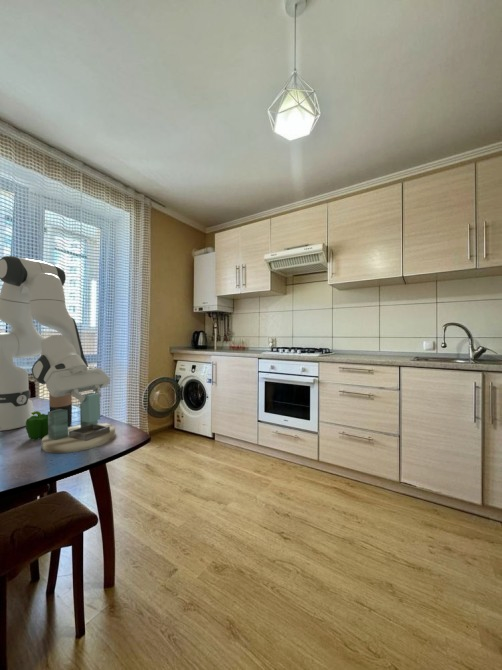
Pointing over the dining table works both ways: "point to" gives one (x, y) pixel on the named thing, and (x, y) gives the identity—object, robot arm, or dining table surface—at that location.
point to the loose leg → (91, 407)
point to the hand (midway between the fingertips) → (91, 399)
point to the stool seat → (74, 434)
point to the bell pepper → (37, 426)
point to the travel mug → (62, 405)
